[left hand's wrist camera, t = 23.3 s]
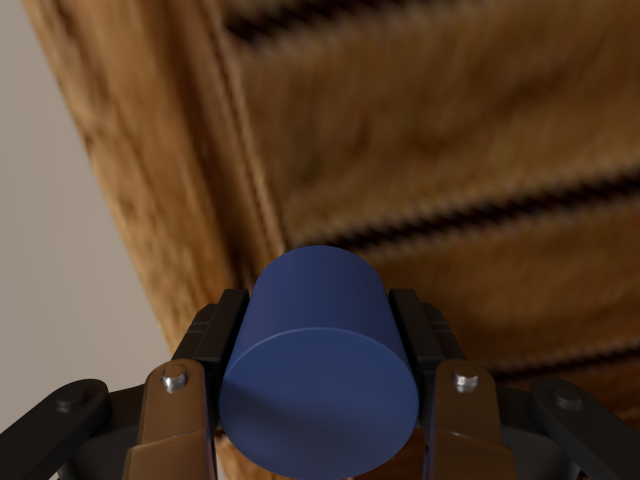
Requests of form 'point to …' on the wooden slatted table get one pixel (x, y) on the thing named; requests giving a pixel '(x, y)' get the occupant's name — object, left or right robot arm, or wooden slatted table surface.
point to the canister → (318, 370)
